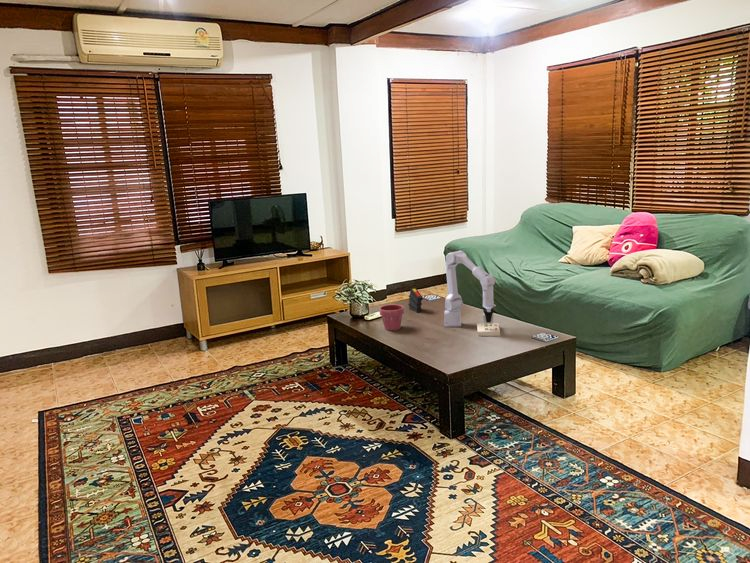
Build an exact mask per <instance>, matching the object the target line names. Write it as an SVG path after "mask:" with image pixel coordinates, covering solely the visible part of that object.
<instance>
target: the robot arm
mask: <svg viewBox="0 0 750 563" xmlns="http://www.w3.org/2000/svg"><path fill="white" fill-rule="evenodd" d="M459 264H462V265H464V266H465V267H466V268H468V269H469V270H470V271H472V272H471V273H472V275H473V276H474V277H475V278H476V279H478V281H479V282H480V285H481V289H482V309H483V310H482V311H483V313H484V314H485V317H486V322H487V323H488V322H491V318H492V314H493V315H494V311H495V310H494V307H496V306H497V305H496V304H495V302H494V285H495V284H496V281H497V280H496V277H495V276H494V275H493V274H489V273H488V272H486V271H485V270H484V269H483V267H482V266H477V265H476V264H474V262H473V261H471V259H470V258H469V257H468V256H467V253H466V252H464V251H463V250H458V251H457V250H456V251H452V252H449V253H447V254H446V255H445V274H446V275H445V276H446V283H447V284H446V286H447V293H448V295H447V296H446V297H445V300H444V301H445V302H444V307H445V310H444V320H443V321H444V327H447V328H448V327H462V321H461V310H462V307H463V306H464V301H463V299H462V296H461V295H460V294H459V291H458V290H459V289H458V281H457V272H456V271H457V270H456V267H457V266H458V265H459Z"/></svg>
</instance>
